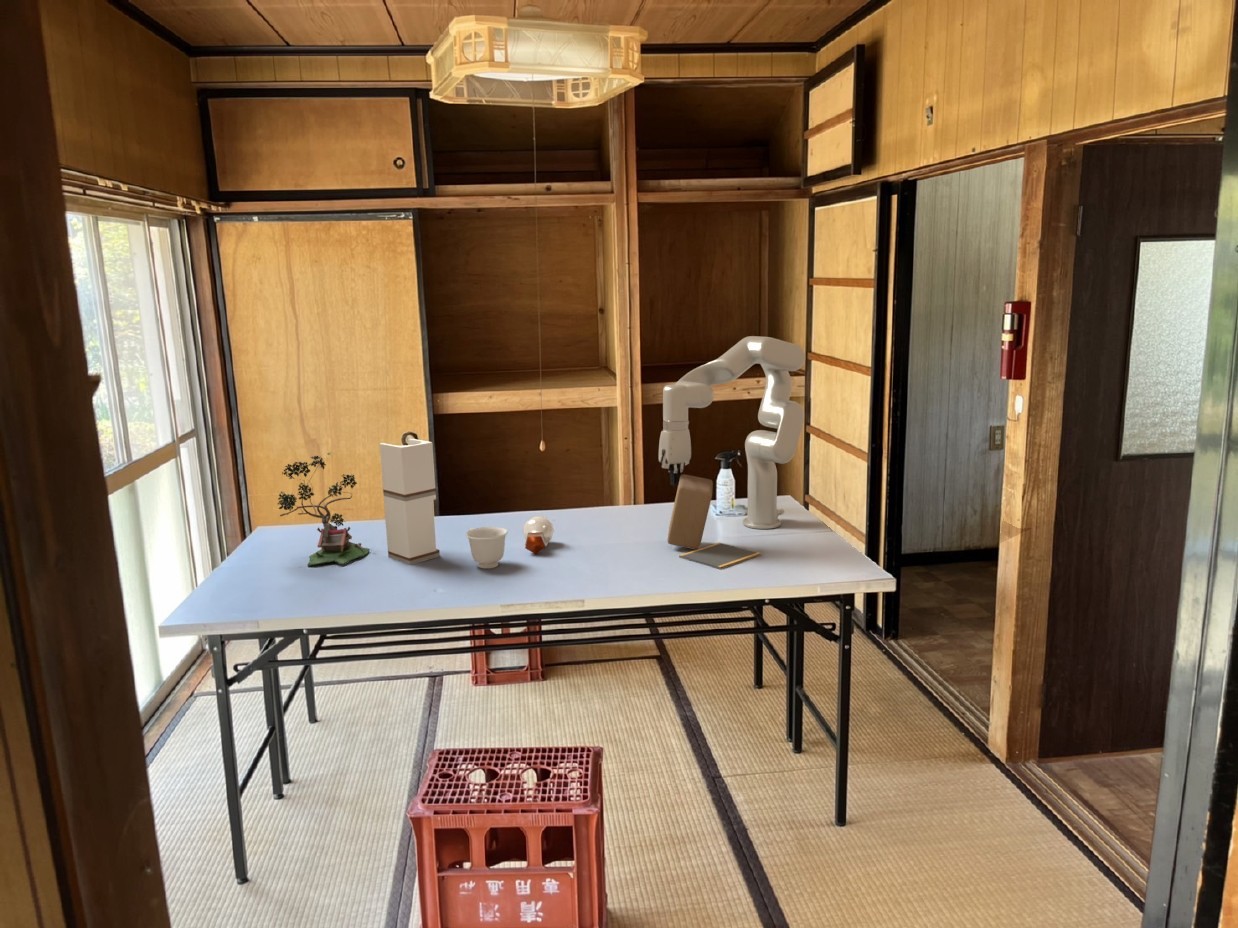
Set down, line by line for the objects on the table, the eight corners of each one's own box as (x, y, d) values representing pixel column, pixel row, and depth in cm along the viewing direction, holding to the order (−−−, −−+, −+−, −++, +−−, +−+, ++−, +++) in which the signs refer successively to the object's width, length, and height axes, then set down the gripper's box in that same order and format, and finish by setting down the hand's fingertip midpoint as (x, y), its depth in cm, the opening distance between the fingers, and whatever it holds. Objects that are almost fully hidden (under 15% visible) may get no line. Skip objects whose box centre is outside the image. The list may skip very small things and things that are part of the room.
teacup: (487, 554, 262) (485, 522, 260) (517, 565, 251) (516, 531, 249) (453, 563, 254) (451, 531, 252) (483, 575, 243) (481, 540, 241)
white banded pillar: (439, 556, 261) (432, 442, 254) (409, 564, 254) (401, 447, 247) (418, 549, 269) (410, 438, 262) (388, 557, 261) (379, 443, 254)
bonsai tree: (300, 545, 275) (290, 448, 269) (377, 543, 276) (369, 446, 270) (257, 582, 241) (245, 471, 235) (345, 579, 242) (336, 469, 235)
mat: (719, 544, 267) (719, 542, 267) (760, 555, 255) (760, 553, 255) (679, 557, 255) (679, 555, 255) (720, 569, 244) (720, 567, 243)
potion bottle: (544, 544, 276) (540, 564, 262) (519, 528, 274) (513, 547, 260) (560, 522, 274) (557, 541, 259) (534, 505, 272) (530, 523, 258)
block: (700, 535, 270) (713, 478, 261) (699, 551, 261) (712, 493, 252) (668, 528, 270) (680, 472, 262) (666, 544, 261) (679, 486, 253)
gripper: (684, 421, 268) (684, 479, 272) (649, 427, 259) (649, 487, 262) (701, 424, 263) (701, 483, 266) (666, 430, 253) (666, 491, 257)
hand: (675, 485), depth 264 cm, fingers closed
